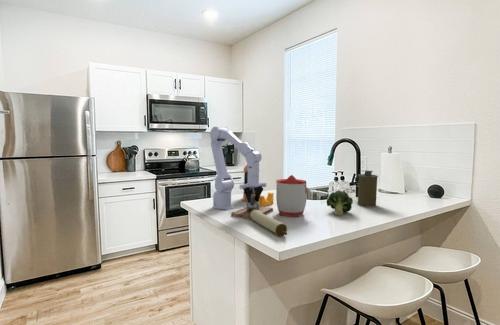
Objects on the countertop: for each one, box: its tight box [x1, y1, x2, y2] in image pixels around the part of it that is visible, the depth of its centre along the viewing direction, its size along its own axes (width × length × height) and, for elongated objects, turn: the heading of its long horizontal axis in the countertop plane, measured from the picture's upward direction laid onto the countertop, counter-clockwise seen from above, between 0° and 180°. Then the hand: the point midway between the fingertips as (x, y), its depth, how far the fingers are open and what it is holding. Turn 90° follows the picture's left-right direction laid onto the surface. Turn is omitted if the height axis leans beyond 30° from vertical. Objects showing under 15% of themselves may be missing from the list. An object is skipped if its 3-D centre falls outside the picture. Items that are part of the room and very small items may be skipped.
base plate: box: [231, 206, 274, 220], centre depth 149 cm, size 13×20×2 cm, turn 150°
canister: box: [356, 170, 379, 208], centre depth 169 cm, size 11×10×20 cm
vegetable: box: [326, 190, 354, 217], centre depth 150 cm, size 12×13×15 cm
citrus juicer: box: [275, 174, 312, 217], centre depth 147 cm, size 16×17×20 cm
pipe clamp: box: [259, 192, 274, 207], centre depth 167 cm, size 12×4×6 cm, turn 145°
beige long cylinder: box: [249, 209, 288, 237], centre depth 126 cm, size 32×6×5 cm, turn 25°
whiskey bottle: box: [242, 147, 256, 202], centre depth 180 cm, size 10×10×32 cm
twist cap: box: [246, 194, 259, 211], centre depth 148 cm, size 6×8×7 cm
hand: (253, 201), depth 148 cm, fingers closed on twist cap, 4 cm apart
